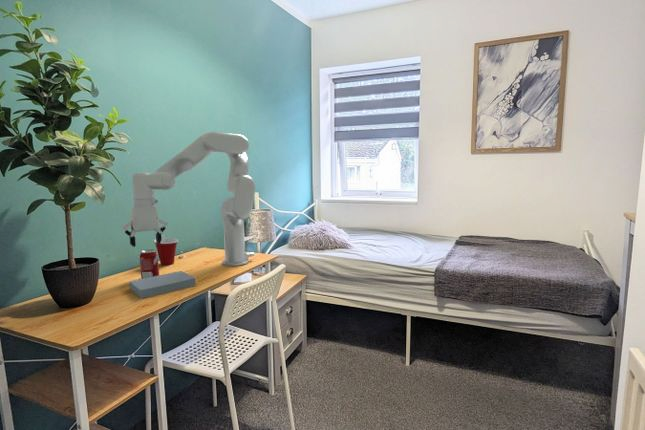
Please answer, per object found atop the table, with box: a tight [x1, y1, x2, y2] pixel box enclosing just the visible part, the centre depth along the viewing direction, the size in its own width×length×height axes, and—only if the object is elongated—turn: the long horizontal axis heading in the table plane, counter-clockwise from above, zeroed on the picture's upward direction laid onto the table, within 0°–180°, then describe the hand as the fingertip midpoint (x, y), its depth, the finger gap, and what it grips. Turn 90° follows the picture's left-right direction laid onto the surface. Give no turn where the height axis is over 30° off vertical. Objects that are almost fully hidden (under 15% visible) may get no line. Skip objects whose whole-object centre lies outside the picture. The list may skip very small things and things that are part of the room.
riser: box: [128, 270, 197, 299], centre depth 139 cm, size 20×14×3 cm
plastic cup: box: [153, 237, 179, 266], centre depth 173 cm, size 11×11×12 cm
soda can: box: [139, 248, 160, 279], centre depth 149 cm, size 7×7×12 cm
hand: (146, 244), depth 148 cm, fingers open, 9 cm apart
